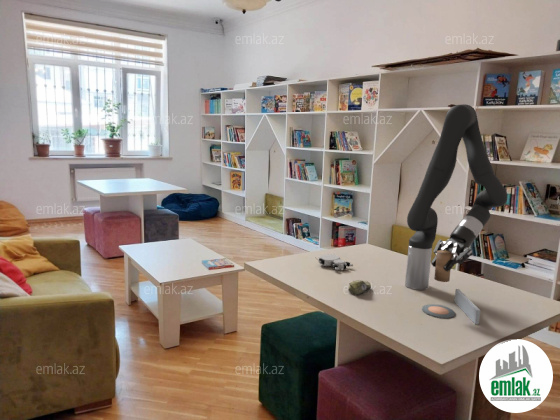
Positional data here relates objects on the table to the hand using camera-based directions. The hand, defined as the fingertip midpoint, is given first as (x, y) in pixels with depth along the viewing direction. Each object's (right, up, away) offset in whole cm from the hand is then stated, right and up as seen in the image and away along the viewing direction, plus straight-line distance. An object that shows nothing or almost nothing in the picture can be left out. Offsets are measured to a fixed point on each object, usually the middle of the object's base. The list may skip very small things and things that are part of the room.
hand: (439, 267), depth 148 cm
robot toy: (-30, -7, +52) cm, 60 cm away
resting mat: (+1, -16, +4) cm, 17 cm away
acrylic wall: (+11, -17, +4) cm, 20 cm away
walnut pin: (+2, -4, +2) cm, 5 cm away
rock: (-24, -13, +22) cm, 35 cm away
